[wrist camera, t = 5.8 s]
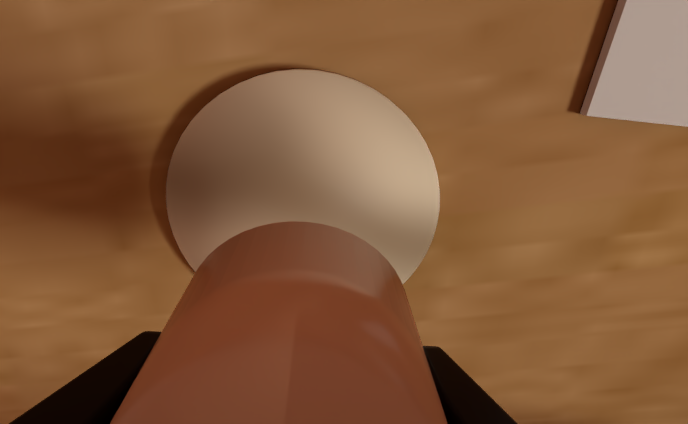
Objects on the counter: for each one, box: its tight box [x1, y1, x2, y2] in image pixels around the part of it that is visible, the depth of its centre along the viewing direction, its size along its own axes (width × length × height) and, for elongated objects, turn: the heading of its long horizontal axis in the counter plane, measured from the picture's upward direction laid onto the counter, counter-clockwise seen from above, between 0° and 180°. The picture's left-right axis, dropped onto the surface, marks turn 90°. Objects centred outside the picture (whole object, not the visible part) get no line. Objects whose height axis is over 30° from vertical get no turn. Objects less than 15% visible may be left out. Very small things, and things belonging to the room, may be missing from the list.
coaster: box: [166, 69, 440, 284], centre depth 15 cm, size 10×10×1 cm
